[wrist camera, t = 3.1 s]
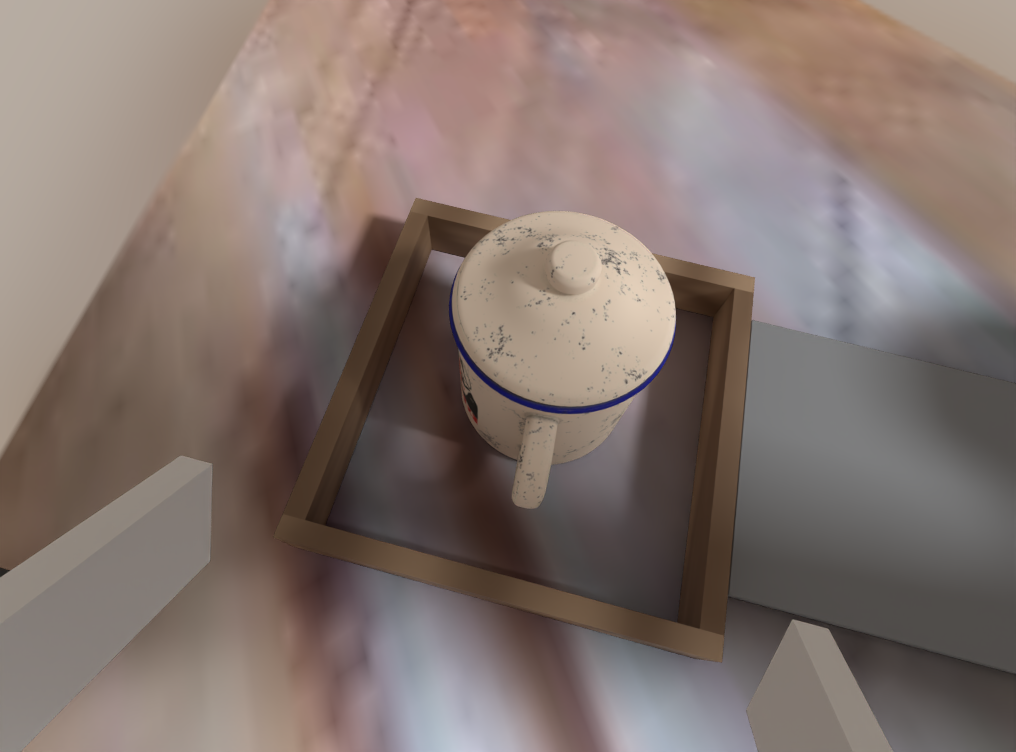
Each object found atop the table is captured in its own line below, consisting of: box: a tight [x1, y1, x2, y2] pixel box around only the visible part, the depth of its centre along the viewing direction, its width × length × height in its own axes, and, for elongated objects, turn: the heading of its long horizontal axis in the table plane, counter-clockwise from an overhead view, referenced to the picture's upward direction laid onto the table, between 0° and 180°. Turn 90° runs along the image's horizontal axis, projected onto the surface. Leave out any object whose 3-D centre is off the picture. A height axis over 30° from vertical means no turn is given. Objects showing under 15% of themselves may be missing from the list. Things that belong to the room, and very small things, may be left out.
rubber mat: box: [728, 320, 1016, 674], centre depth 29 cm, size 15×15×1 cm
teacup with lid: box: [449, 211, 676, 509], centre depth 24 cm, size 12×9×12 cm
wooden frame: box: [273, 198, 755, 662], centre depth 28 cm, size 19×19×3 cm
